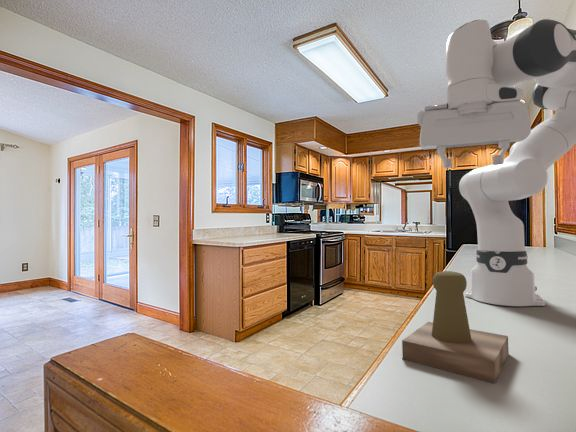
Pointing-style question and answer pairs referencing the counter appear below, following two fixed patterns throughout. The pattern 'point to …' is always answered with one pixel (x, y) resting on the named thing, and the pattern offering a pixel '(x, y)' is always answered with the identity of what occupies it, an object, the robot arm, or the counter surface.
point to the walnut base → (459, 353)
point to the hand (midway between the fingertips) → (472, 166)
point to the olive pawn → (450, 308)
